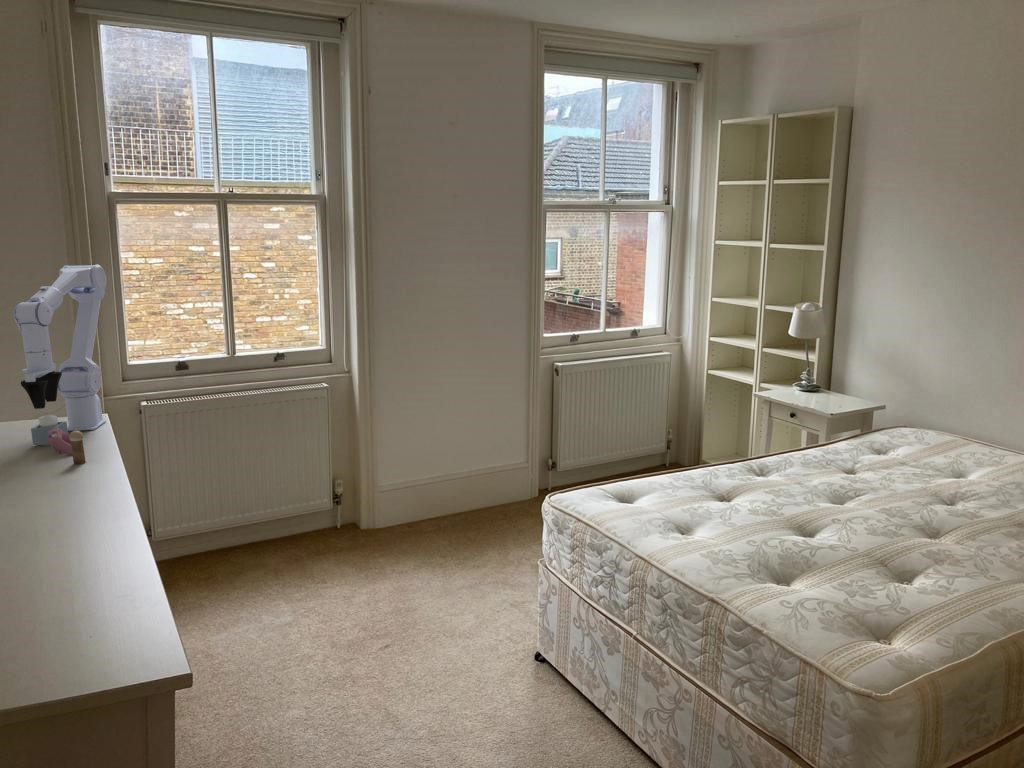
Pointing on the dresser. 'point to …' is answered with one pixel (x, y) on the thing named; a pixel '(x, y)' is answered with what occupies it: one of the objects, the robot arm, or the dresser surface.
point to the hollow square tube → (45, 433)
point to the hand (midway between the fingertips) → (45, 404)
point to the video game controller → (60, 441)
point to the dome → (48, 421)
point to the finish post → (77, 447)
